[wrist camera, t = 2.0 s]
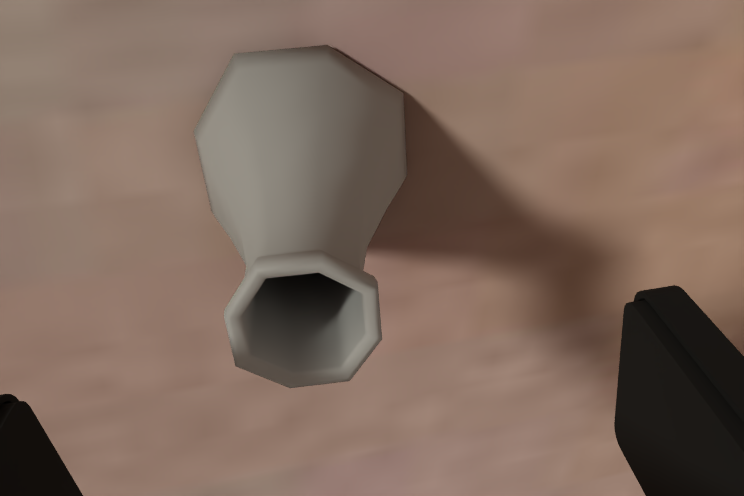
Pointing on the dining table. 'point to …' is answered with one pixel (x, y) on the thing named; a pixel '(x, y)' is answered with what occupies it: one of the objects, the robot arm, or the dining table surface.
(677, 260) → the dining table surface
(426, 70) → the dining table surface
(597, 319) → the dining table surface
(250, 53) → the flask
